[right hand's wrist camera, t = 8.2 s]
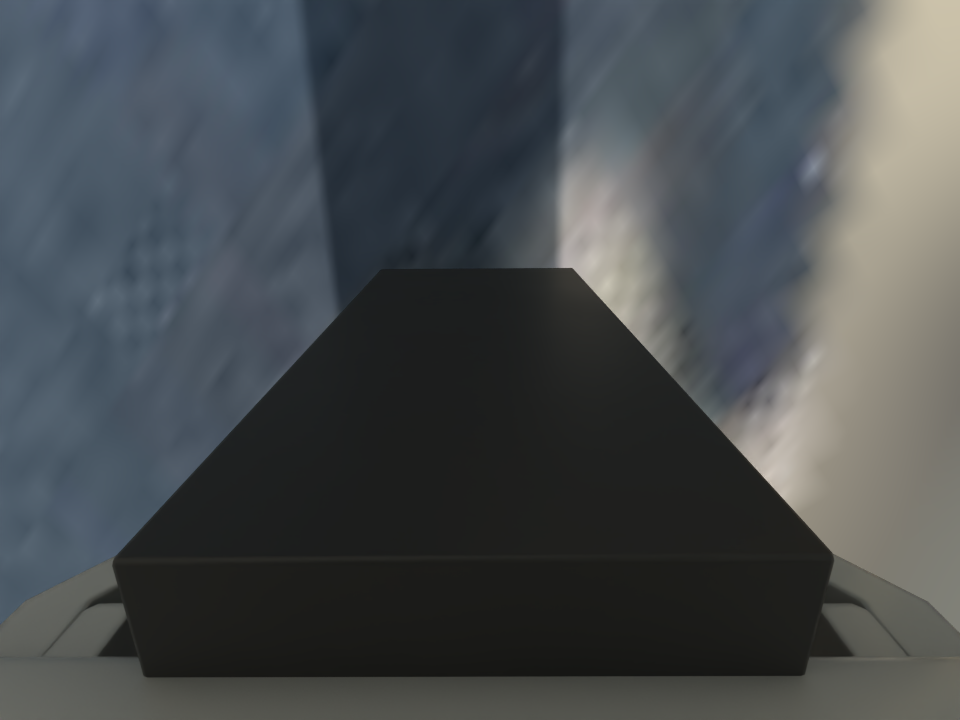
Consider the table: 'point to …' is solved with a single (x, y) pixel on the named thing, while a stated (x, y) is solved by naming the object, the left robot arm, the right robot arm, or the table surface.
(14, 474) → the table surface
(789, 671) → the box
